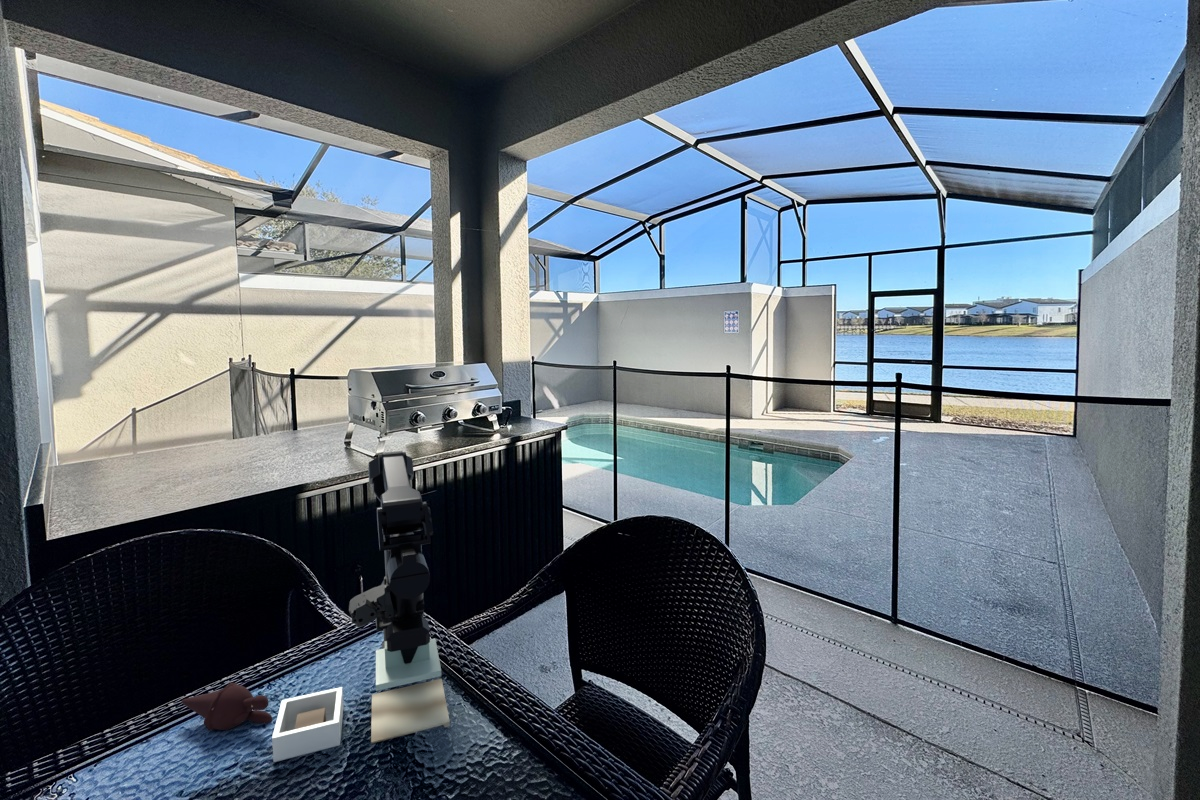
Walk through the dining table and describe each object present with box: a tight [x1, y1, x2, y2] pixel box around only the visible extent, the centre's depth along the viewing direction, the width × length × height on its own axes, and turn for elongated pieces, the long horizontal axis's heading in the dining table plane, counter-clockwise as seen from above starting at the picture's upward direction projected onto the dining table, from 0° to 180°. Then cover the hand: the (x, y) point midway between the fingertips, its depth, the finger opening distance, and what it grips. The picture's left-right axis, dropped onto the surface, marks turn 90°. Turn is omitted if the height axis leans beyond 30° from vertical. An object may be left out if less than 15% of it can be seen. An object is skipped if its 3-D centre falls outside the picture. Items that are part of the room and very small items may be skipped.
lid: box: [375, 637, 442, 692], centre depth 90 cm, size 10×10×5 cm
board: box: [370, 678, 451, 745], centre depth 91 cm, size 12×12×1 cm
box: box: [271, 686, 344, 763], centre depth 85 cm, size 9×9×4 cm
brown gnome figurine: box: [181, 682, 273, 732], centre depth 87 cm, size 7×7×15 cm
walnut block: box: [295, 708, 326, 729], centre depth 85 cm, size 4×4×2 cm
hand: (407, 658), depth 90 cm, fingers closed on lid, 2 cm apart
